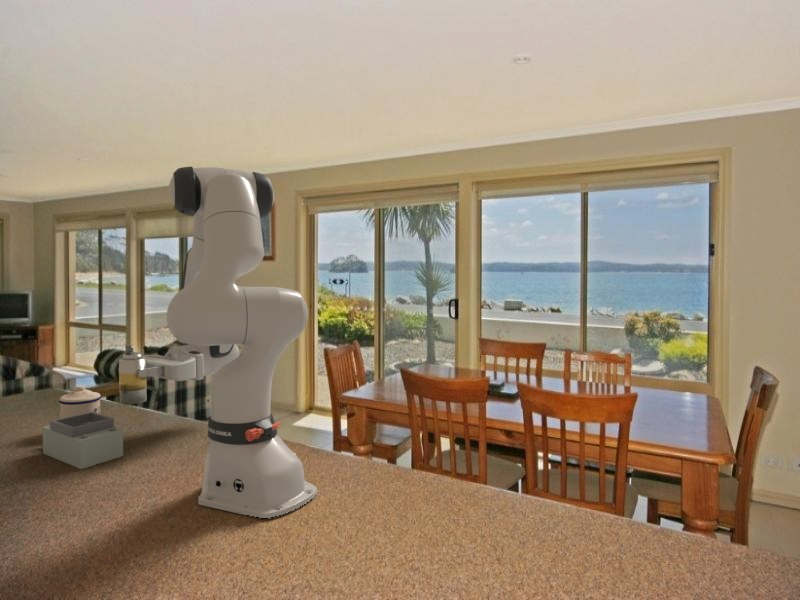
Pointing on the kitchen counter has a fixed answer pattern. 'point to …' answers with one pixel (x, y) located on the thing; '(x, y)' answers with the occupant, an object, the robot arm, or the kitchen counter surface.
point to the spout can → (132, 378)
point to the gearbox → (83, 440)
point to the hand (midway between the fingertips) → (129, 371)
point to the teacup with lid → (79, 402)
